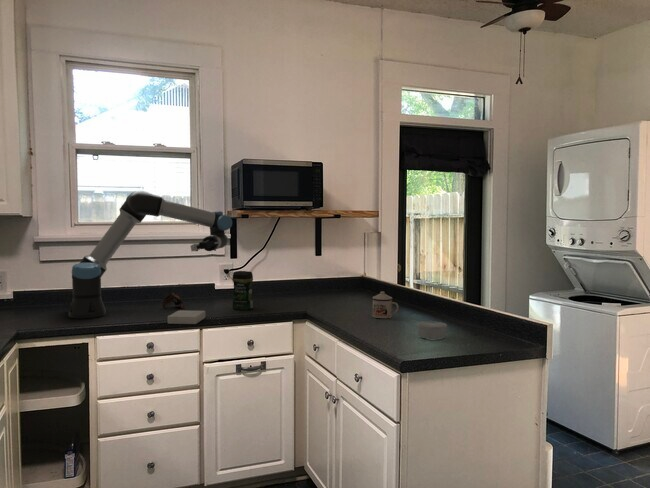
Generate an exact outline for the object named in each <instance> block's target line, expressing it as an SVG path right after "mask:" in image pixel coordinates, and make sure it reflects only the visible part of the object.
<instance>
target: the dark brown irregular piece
mask: <svg viewBox="0 0 650 488" xmlns="http://www.w3.org/2000/svg"><path fill="white" fill-rule="evenodd" d="M171 302H173V303H174V305H175V306H179V307H180V310H181V309H183V308H184V303H183V301H182V299H181V296H180V295H179V294H178V293H177V294H175V293H174V292H173V293H170V294H168V295H166V296H165V297H164V298H162V300H161V307H162V308H163V309H165V308H166V306H167V305H171Z"/></svg>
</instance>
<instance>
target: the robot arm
mask: <svg viewBox="0 0 650 488" xmlns="http://www.w3.org/2000/svg"><path fill="white" fill-rule="evenodd" d="M146 216H153V217H160V216H162V217H165V218H170V219H174V220H178V221H183V222H187V223H190V224H196V225H200V226H203V227H208V228H209V234H210V235H208V236H205V237H204V238H203V239H202V240H201V241H200V242H198V243H194V244H192V245H190V250H191V252H198V251H199V250H205V251H207V252H213V251H215V252H216V251H217V250H218V249H223V248H224V247H226V246H227V245H228V243H229V238H228V236H227V235H226V232H225V231H228V230H230V229H231V228H232V226H233V220H232V218H231V216H229V215H226V214H224V213H223V211H222V210H219V211H209V210H204V209H201V208H197V207H193V206H189V205H185V204H181V203H177V202H174V201H170V200H166V199H164V198H163V196H159V195H156V194H153V193H150V192H148V191H145V190H138V191H133V192H131V193H129V194H128V195H127V196H126V199H125V201H124V203H122V205H121V207H120V208H119V215H118V216H117V218H115V219H114V222H113V223H112V224H111V225H110V227H109V229H107V231H106V232H105V234H104V235H103V236H102V238H101V239H100V241H99V242H98V243H97V244H96V245H95V247H94V248H93V249H92V251H91V253H90V254H87V255H85V256H83V257H82V259H81V260H80V261H79V263H75V264H74V265H72V267H71V281H72V282H71V283H72V301H71V303H70V308H69V310H68V318H71V319H78V320H79V319H81V320H82V319H83V320H84V319H93V318H100V317H103V316H106V314H107V313H106V312H107V311H106V310H107V309H106V307H105V304H104V302H103V299H102V277H103V276H104V274H105V272H106V271H107V269H108V268H107V264H108V263H109V261H110V260H111V258H112V257H113V256H114V254H116V251H117V250H118V249H119V248H120V246H121V245H122V243H123V242H124V241H125V240H126V237H127V236H128V235H129V234H130V232H131V231H132V230H133V228H134V227H135V226H136V225H137V224H141V223H142V222H143V220H144V219H145V217H146Z"/></svg>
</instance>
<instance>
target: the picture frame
mask: <svg viewBox="0 0 650 488" xmlns="http://www.w3.org/2000/svg"><path fill="white" fill-rule="evenodd" d="M204 319H206V310H181V309H180V310H177V311H175V312H173V313H171V314H169V315H168V316H167V324H170V325H171V324H173V325H174V324H175V325H178V324H179V325H197V324H198V323H199V322H201V321H203V320H204Z"/></svg>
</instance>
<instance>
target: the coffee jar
mask: <svg viewBox="0 0 650 488" xmlns="http://www.w3.org/2000/svg"><path fill="white" fill-rule="evenodd" d="M231 280H232V283H233V295H232V296H233V297H232V309H233V310H237V311H239V310H240V311H247V310H249V309H250V310H252V309H253V307H254V302H253V300H254V299H253V287H252V286H253V281H254V276H253V272H252V271H248V270H236V271H233V272H232V279H231Z"/></svg>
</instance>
